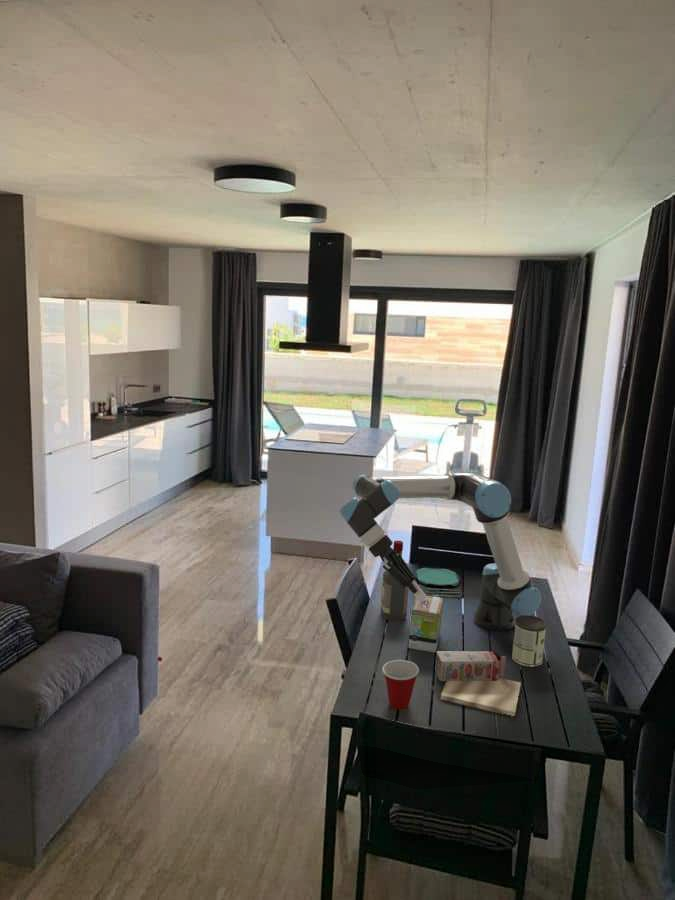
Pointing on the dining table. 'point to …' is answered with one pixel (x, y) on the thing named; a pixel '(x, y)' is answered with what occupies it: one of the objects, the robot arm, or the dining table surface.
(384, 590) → the liquor
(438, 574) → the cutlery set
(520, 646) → the coffee can
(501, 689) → the cutting board
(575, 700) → the dining table surface
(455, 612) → the dining table surface
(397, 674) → the plastic cup
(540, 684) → the dining table surface
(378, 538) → the robot arm
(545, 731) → the dining table surface
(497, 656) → the juice carton
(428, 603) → the tea box
